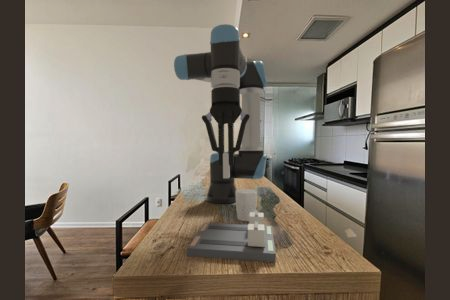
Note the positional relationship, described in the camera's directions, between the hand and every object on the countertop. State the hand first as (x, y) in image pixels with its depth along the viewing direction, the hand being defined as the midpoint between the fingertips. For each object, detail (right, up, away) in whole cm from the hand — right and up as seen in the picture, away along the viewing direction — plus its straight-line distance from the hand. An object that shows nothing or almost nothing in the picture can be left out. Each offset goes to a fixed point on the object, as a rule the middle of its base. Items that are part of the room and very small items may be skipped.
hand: (226, 177), depth 62 cm
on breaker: (+9, -15, +5) cm, 18 cm away
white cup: (+7, -18, +21) cm, 29 cm away
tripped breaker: (+7, -16, -5) cm, 18 cm away
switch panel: (+2, -18, +1) cm, 18 cm away
